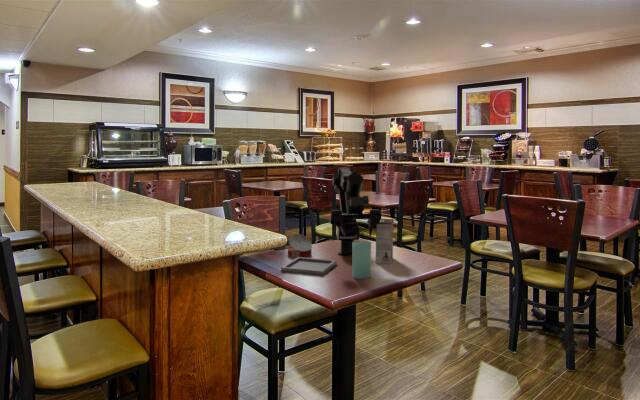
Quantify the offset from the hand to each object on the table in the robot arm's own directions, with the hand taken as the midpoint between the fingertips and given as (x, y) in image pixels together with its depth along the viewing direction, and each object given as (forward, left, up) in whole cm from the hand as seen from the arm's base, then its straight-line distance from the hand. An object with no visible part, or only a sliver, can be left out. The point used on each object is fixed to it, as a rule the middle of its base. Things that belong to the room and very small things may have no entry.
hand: (358, 235), depth 167 cm
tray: (+3, -18, -13) cm, 22 cm away
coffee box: (-17, +6, -13) cm, 23 cm away
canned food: (-14, -29, -13) cm, 35 cm away
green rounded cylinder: (+7, +3, -13) cm, 15 cm away
